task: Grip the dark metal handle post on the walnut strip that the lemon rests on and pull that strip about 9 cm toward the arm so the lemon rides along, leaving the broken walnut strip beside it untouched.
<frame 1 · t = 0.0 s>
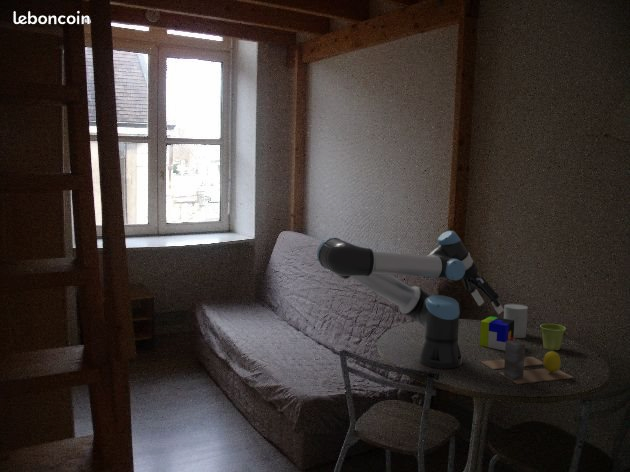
hand: (491, 307, 231), 15 cm above the table, tool tilted 35°, fingers open, 13 cm apart
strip: (537, 358, 198), point 6 cm above the table, slide at 0.0 cm, touching lemon
lemon: (551, 373, 200), resting on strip
broken strip: (513, 363, 211), on the table
plant pot: (551, 348, 230), on the table
white cylinder: (514, 335, 248), on the table
puzzle toy: (496, 345, 233), on the table
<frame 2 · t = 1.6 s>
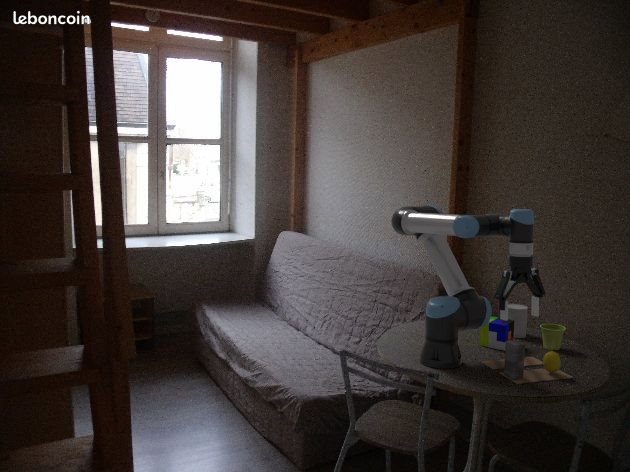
hand: (519, 317, 196), 20 cm above the table, tool pointing down, fingers open, 13 cm apart
nothing on the table moved.
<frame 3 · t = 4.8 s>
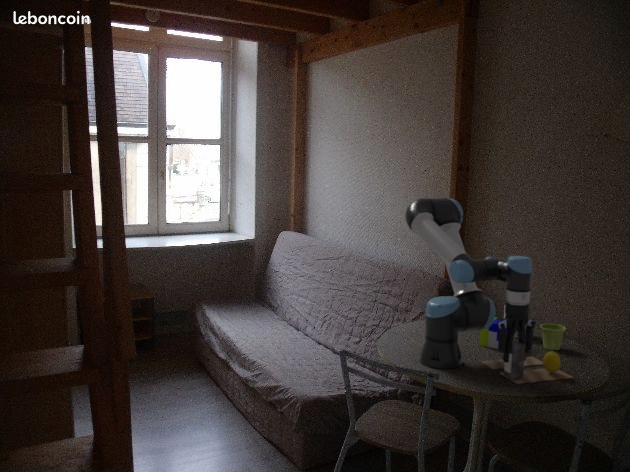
hand: (513, 370, 196), 3 cm above the table, tool pointing down, fingers closed on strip, 4 cm apart
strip: (537, 358, 198), point 6 cm above the table, slide at 0.0 cm, touching gripper, lemon
everything else where it was.
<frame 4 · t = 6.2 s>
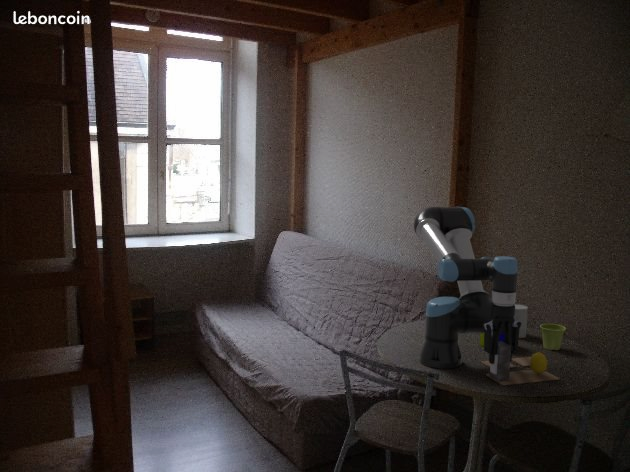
hand: (499, 372, 194), 3 cm above the table, tool pointing down, fingers closed on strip, 4 cm apart
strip: (523, 359, 196), point 6 cm above the table, slide at 5.4 cm, touching gripper, lemon
lemon: (537, 375, 199), resting on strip
everything else where it was.
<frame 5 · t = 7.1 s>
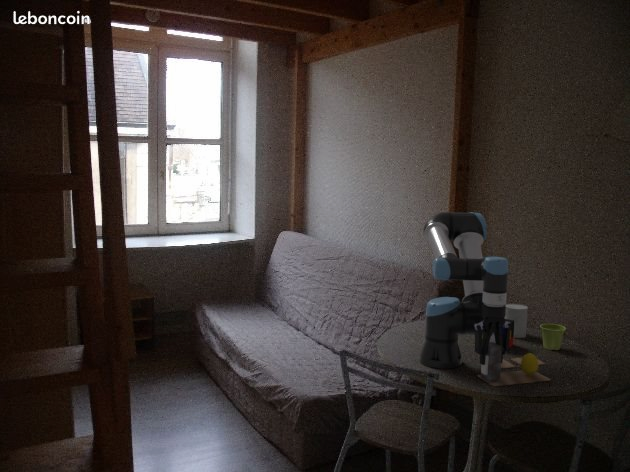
hand: (490, 372, 193), 3 cm above the table, tool pointing down, fingers closed on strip, 4 cm apart
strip: (514, 360, 195), point 6 cm above the table, slide at 8.9 cm, touching gripper, lemon
lemon: (528, 376, 198), resting on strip
everything else where it was.
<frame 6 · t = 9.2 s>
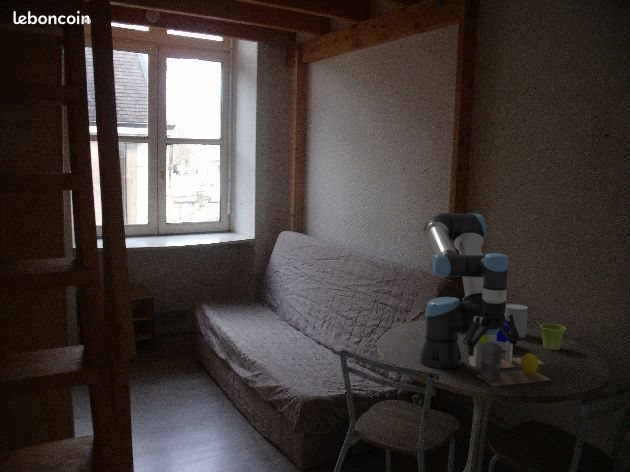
hand: (490, 363, 193), 6 cm above the table, tool pointing down, fingers open, 13 cm apart
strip: (514, 360, 195), point 6 cm above the table, slide at 9.0 cm, touching lemon
everything else where it was.
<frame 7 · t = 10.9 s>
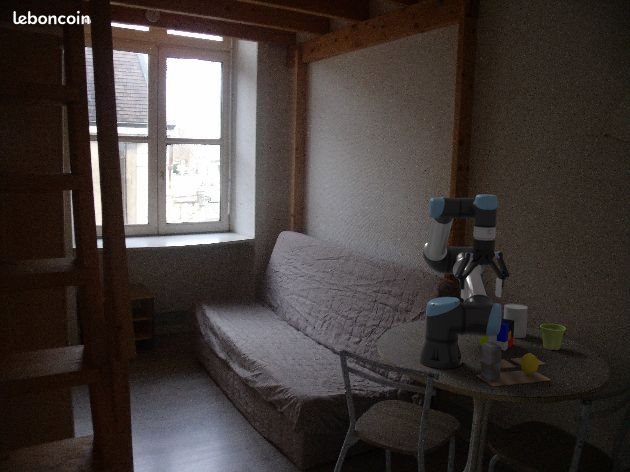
hand: (480, 297, 207), 24 cm above the table, tool pointing down, fingers open, 13 cm apart
nothing on the table moved.
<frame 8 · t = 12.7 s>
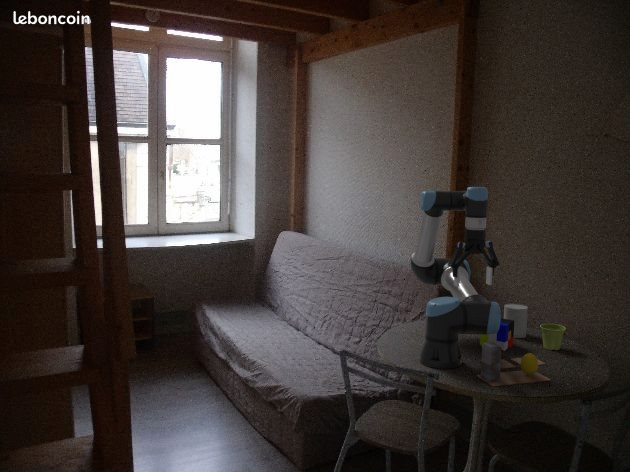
hand: (472, 285, 217), 27 cm above the table, tool pointing down, fingers open, 13 cm apart
nothing on the table moved.
at the end: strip slide at 9.0 cm; lemon inside the target area (0.0 cm from its centre), resting on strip; lemon touching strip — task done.
